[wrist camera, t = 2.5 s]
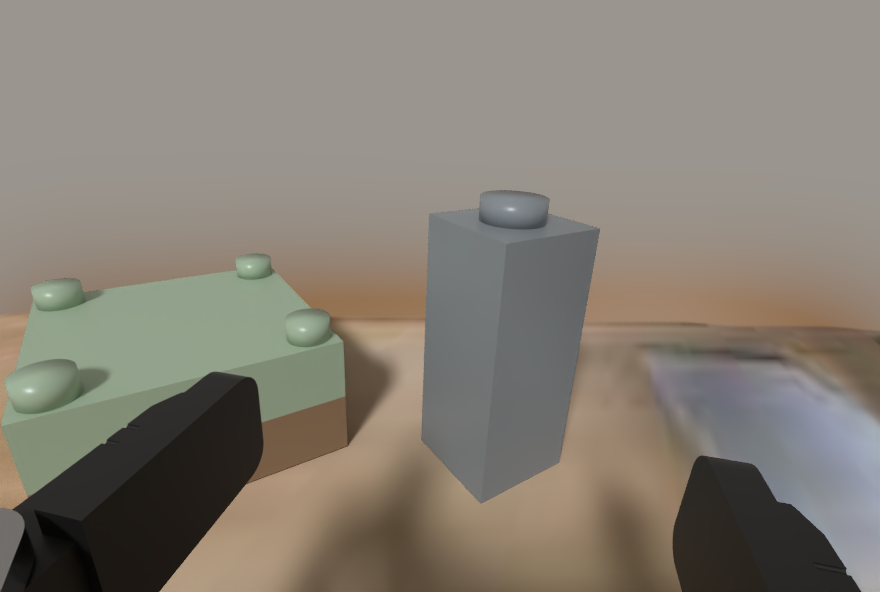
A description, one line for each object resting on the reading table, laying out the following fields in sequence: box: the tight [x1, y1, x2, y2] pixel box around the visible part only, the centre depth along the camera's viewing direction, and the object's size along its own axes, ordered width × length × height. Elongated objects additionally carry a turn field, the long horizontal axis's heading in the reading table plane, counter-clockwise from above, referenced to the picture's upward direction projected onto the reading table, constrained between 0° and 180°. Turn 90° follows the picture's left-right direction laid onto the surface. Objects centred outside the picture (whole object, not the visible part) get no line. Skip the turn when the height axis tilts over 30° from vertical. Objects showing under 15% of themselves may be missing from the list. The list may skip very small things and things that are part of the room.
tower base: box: [1, 254, 348, 498], centre depth 24 cm, size 12×12×7 cm
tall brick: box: [421, 190, 600, 503], centre depth 22 cm, size 5×5×13 cm
